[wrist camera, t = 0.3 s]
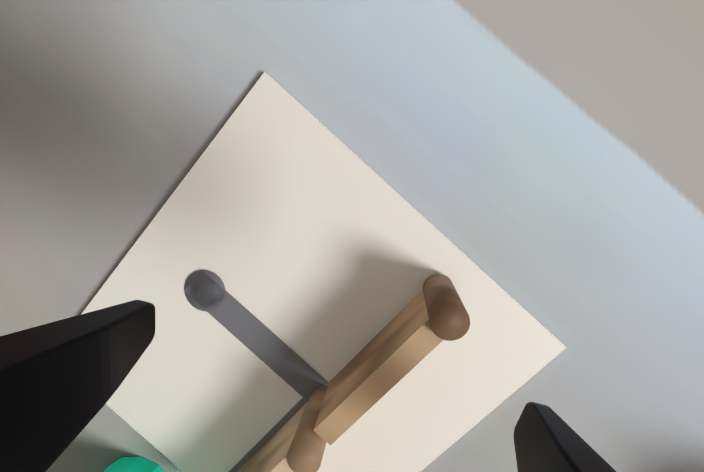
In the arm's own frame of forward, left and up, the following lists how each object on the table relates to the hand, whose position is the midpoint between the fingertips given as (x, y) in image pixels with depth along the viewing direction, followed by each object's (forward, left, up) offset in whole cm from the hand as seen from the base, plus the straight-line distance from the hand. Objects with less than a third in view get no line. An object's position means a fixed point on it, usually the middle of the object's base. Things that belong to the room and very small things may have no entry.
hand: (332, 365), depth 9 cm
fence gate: (-3, -4, -14) cm, 15 cm away
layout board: (-9, 0, -15) cm, 17 cm away
